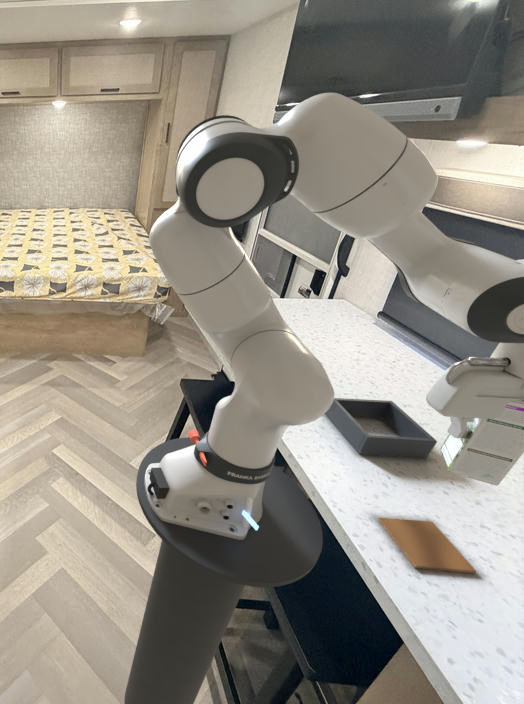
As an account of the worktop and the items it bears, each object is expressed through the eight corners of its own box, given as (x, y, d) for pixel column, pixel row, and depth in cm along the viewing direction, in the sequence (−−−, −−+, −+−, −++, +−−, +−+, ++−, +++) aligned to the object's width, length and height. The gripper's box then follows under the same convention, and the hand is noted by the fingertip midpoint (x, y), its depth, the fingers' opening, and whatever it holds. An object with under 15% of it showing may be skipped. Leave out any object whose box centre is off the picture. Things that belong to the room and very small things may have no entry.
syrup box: (499, 487, 59) (561, 411, 52) (445, 471, 62) (497, 397, 55) (486, 462, 63) (541, 389, 56) (436, 448, 66) (483, 376, 59)
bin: (358, 454, 87) (367, 437, 85) (324, 413, 99) (331, 397, 97) (426, 458, 86) (437, 441, 83) (383, 416, 98) (391, 400, 95)
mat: (414, 568, 65) (415, 565, 65) (377, 519, 73) (378, 517, 73) (474, 573, 64) (476, 571, 64) (430, 523, 72) (432, 521, 72)
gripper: (479, 369, 51) (429, 448, 58) (661, 377, 49) (587, 457, 56) (439, 344, 57) (397, 419, 63) (601, 350, 55) (540, 426, 61)
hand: (487, 437), depth 60 cm, fingers closed on syrup box, 7 cm apart
